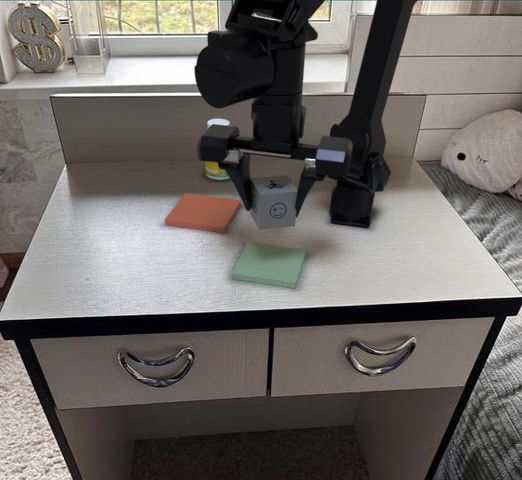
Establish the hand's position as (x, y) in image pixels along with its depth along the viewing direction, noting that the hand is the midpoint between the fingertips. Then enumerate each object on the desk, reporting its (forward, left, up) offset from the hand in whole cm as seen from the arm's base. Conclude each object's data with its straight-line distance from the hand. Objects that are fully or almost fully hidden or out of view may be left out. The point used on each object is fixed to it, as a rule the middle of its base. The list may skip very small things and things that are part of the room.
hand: (272, 212), depth 71 cm
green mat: (0, 0, -8) cm, 8 cm away
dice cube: (0, 0, -1) cm, 1 cm away
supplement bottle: (+16, -28, -8) cm, 33 cm away
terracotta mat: (+14, -12, -8) cm, 20 cm away
